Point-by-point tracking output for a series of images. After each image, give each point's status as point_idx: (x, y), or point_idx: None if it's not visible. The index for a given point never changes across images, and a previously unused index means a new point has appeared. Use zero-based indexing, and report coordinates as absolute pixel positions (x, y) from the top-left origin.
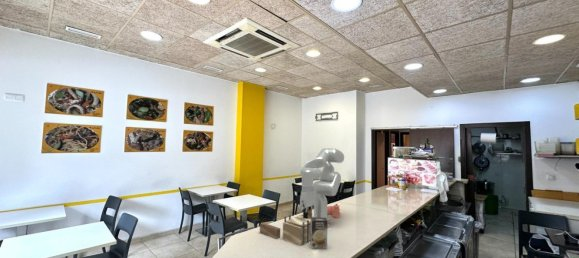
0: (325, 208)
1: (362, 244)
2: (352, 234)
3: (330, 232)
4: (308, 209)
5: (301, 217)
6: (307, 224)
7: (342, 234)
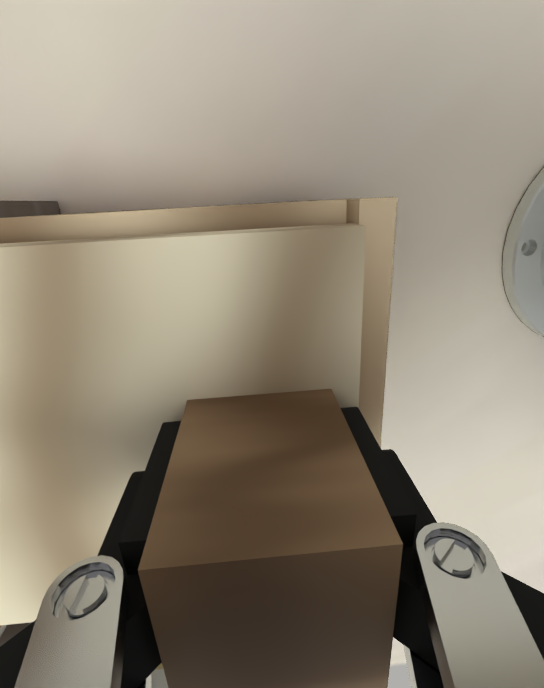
0: None
1: (391, 655)
2: (519, 553)
3: (459, 435)
4: (311, 648)
5: (153, 374)
6: (5, 637)
7: (476, 514)
